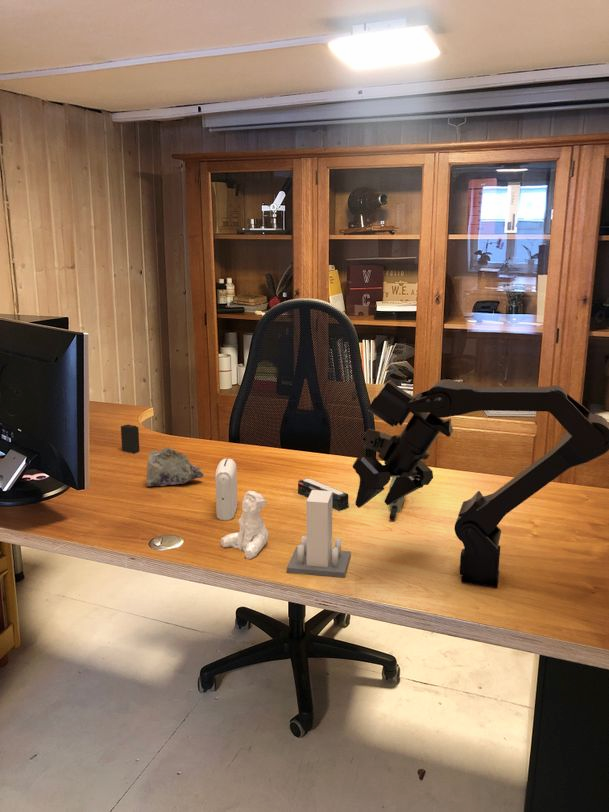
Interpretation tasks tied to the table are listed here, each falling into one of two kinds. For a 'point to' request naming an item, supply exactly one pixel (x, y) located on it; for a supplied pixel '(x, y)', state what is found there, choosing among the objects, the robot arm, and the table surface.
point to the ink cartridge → (130, 438)
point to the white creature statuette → (249, 527)
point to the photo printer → (226, 489)
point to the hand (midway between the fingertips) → (372, 504)
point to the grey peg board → (334, 569)
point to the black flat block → (337, 496)
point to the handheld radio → (395, 504)
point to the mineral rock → (170, 468)
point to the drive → (319, 528)
